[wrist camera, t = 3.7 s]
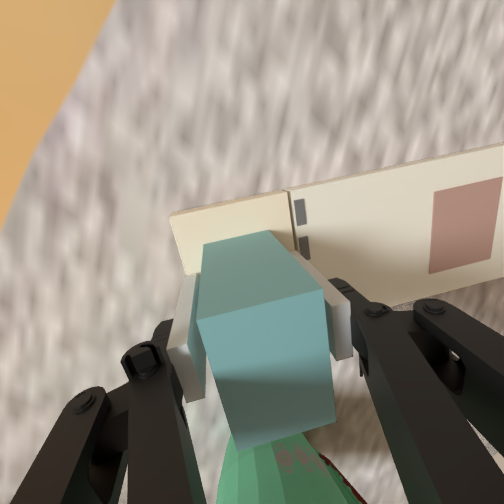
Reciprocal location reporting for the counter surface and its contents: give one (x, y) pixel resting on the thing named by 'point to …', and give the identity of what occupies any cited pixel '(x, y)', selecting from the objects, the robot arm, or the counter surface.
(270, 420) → the stub
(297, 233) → the ticket
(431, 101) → the counter surface
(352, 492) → the mug
